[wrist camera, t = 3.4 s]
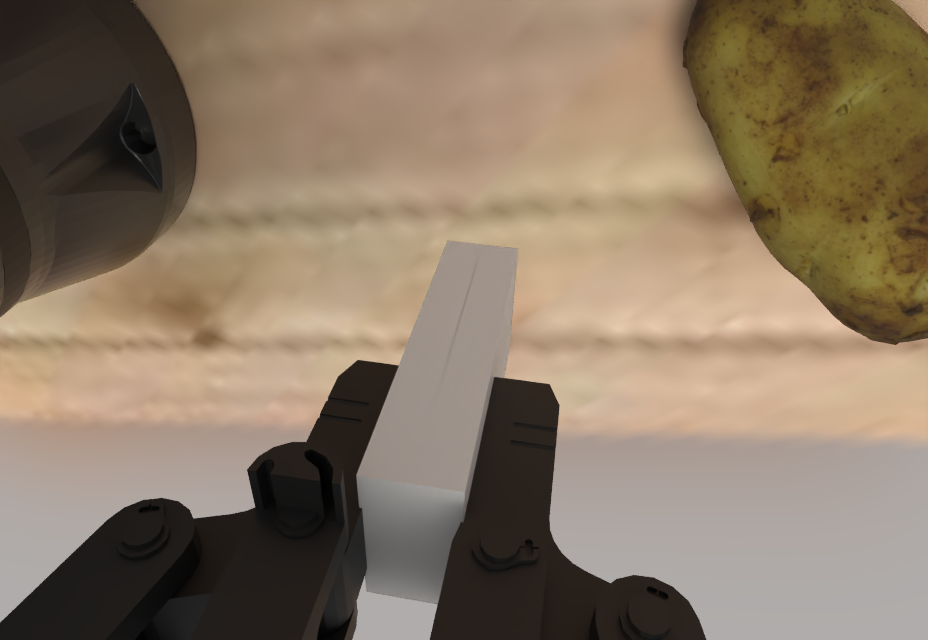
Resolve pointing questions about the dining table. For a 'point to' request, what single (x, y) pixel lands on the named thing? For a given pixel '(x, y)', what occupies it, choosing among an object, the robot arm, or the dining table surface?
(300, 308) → the dining table surface
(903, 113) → the potato
